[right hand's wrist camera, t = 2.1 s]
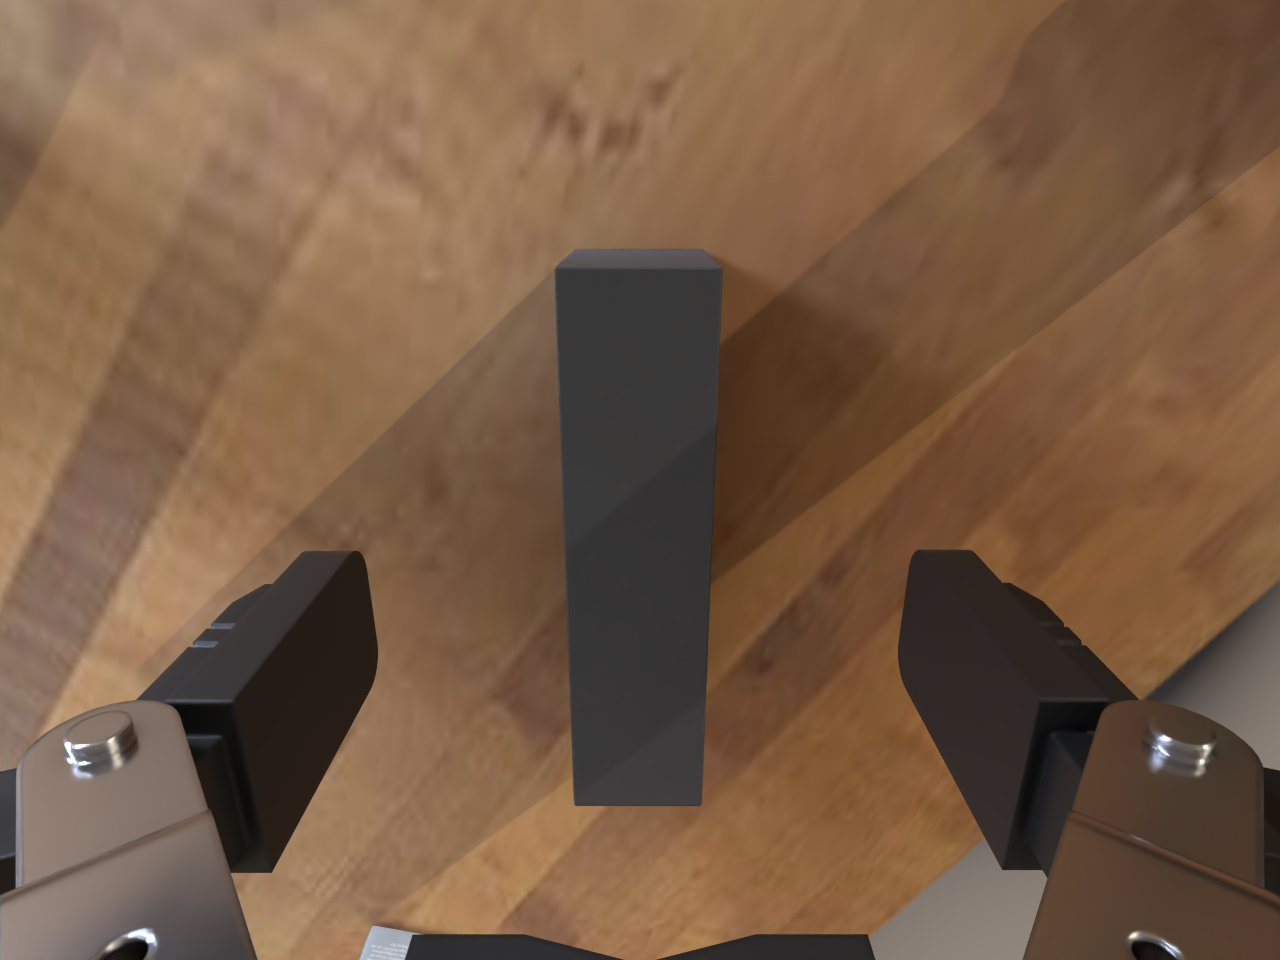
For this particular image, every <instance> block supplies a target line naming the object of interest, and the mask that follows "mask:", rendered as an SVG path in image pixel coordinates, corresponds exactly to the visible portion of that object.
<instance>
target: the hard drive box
mask: <svg viewBox="0 0 1280 960" xmlns="http://www.w3.org/2000/svg"><path fill="white" fill-rule="evenodd" d="M412 934H418V933H413V932H407V931H402V930H396V929H391V928H385V927H380V926H373V927H372V928H371V931H370V933H369V936H368V938H367V941H366V943H365V946H364V949H363V951H362V954H361V957H360V959H359V960H405V957H406V954H407V951H408V948H409V944H410V941H411V938H412Z"/></svg>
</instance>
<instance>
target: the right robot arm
mask: <svg viewBox="0 0 1280 960" xmlns="http://www.w3.org/2000/svg"><path fill="white" fill-rule="evenodd" d="M898 660H899V668H900V673H901V677H902V681H903V684H904V686H905V688H906V690H907V692H908V694H909V696H910V698H911V700H912V701H913V703H914V705H915V707H916V709H917V711H918V713H919V715H920V716H921V718H922V720H923V722H924V724H925V726H926V728H927V730H928V731H929V733H930V735H931V737H932V739H933V741H934V743H935V745H936V746H937V748H938V750H939V752H940V754H941V756H942V758H943V760H944V761H945V763H946V765H947V767H948V769H949V771H950V773H951V775H952V776H953V778H954V780H955V782H956V784H957V786H958V788H959V790H960V791H961V793H962V795H963V797H964V799H965V801H966V803H967V805H968V806H969V808H970V810H971V812H972V814H973V816H974V818H975V820H976V821H977V823H978V825H979V827H980V829H981V831H982V833H983V835H984V836H985V838H986V840H987V842H988V844H989V846H990V848H991V850H992V851H993V853H994V855H995V857H996V859H997V861H998V863H999V865H1000V866H1001V868H1002V870H1043V871H1044V873H1045V875H1046V876H1047V878H1048V879H1047V882H1046V886H1045V889H1044V892H1043V895H1042V899H1041V902H1040V905H1039V908H1038V912H1037V915H1036V918H1035V921H1034V924H1033V928H1032V931H1031V934H1030V938H1029V941H1028V944H1027V947H1026V950H1025V954H1024V957H1023V960H1280V771H1279V770H1274V769H1269V768H1264V767H1263V766H1262V763H1261V761H1260V759H1259V757H1258V756H1257V754H1256V753H1255V752H1254V750H1253V749H1252V748H1251V747H1250V746H1249V745H1248V744H1247V743H1246V742H1245V741H1244V740H1242V739H1241V738H1240V737H1239V736H1237V735H1236V734H1235V733H1233V732H1232V731H1230V730H1229V729H1227V728H1225V727H1224V726H1222V725H1220V724H1219V723H1217V722H1215V721H1213V720H1211V719H1209V718H1207V717H1205V716H1202V715H1200V714H1198V713H1195V712H1192V711H1190V710H1187V709H1184V708H1181V707H1177V706H1174V705H1170V704H1165V703H1161V702H1155V701H1147V700H1139V699H1138V698H1137V697H1136V696H1135V695H1134V694H1133V693H1132V692H1131V691H1130V690H1129V689H1128V688H1127V687H1126V686H1125V685H1124V684H1123V683H1122V682H1121V681H1120V680H1119V679H1118V678H1117V677H1116V676H1115V675H1114V674H1113V673H1112V672H1111V671H1110V670H1109V669H1108V668H1107V667H1106V665H1105V664H1104V663H1103V662H1102V661H1101V660H1100V659H1099V658H1098V657H1097V656H1096V655H1095V654H1094V653H1093V652H1092V651H1091V650H1090V649H1089V648H1088V647H1087V646H1082V644H1081V640H1080V639H1079V638H1078V637H1077V636H1076V635H1075V634H1074V633H1073V632H1072V631H1071V630H1070V629H1069V628H1068V627H1064V623H1063V622H1062V621H1061V620H1060V619H1059V617H1058V616H1057V615H1056V614H1055V613H1054V612H1053V611H1052V610H1051V609H1050V608H1049V607H1048V606H1047V605H1046V604H1045V603H1044V602H1043V601H1041V600H1039V599H1038V598H1036V597H1034V596H1032V595H1031V594H1029V593H1027V592H1025V591H1023V590H1022V589H1020V588H1018V587H1016V586H1015V585H1013V584H1011V583H1002V582H1001V581H1000V580H999V579H998V578H997V577H996V575H995V574H994V573H993V572H992V571H991V570H990V569H989V568H988V567H987V566H986V565H985V564H984V562H983V561H982V560H981V559H980V558H979V557H978V556H977V555H976V554H975V553H974V552H973V551H971V550H917V551H916V552H915V553H914V554H913V556H912V558H911V561H910V566H909V572H908V579H907V586H906V593H905V600H904V607H903V615H902V622H901V629H900V636H899V644H898ZM377 662H378V645H377V637H376V630H375V623H374V616H373V609H372V602H371V595H370V588H369V581H368V574H367V568H366V563H365V560H364V558H363V556H362V554H361V553H360V552H358V551H305V552H303V553H302V554H300V555H299V556H298V558H297V559H296V560H295V561H294V562H293V563H292V564H291V565H290V566H289V567H288V568H287V569H286V570H285V571H284V573H283V574H282V575H281V576H280V577H279V578H278V579H277V580H276V581H275V582H274V583H273V584H265V585H263V586H261V587H259V588H258V589H256V590H254V591H252V592H251V593H249V594H247V595H245V596H243V597H242V598H240V599H238V600H236V601H234V602H233V603H232V604H231V605H230V606H229V607H228V608H227V609H226V610H225V611H224V612H223V613H222V614H221V615H220V616H219V617H218V618H217V619H216V620H215V621H214V622H213V623H212V624H211V629H206V630H205V631H204V632H203V633H202V634H201V635H200V636H199V637H198V638H197V639H196V640H195V641H194V642H193V647H188V648H187V649H186V650H185V651H184V652H183V653H182V654H181V655H180V656H179V657H178V658H177V659H176V660H175V661H174V662H173V663H172V664H171V665H170V666H169V667H168V668H167V669H166V670H165V671H164V672H163V673H162V674H161V675H160V676H159V677H158V678H157V679H156V680H155V681H154V682H153V683H152V684H151V685H150V686H149V688H148V689H147V690H146V691H145V692H144V693H143V694H142V695H141V696H140V697H139V698H138V699H137V700H133V701H125V702H119V703H114V704H110V705H106V706H103V707H99V708H96V709H93V710H90V711H88V712H85V713H82V714H80V715H78V716H75V717H73V718H71V719H69V720H67V721H65V722H63V723H61V724H60V725H58V726H56V727H55V728H53V729H51V730H50V731H48V732H47V733H45V734H44V735H43V736H41V737H40V738H39V739H38V740H36V741H35V742H34V743H33V744H32V745H31V746H30V747H29V748H28V749H27V750H26V752H25V753H24V754H23V756H22V757H21V759H20V761H19V763H18V766H17V768H15V769H11V770H6V771H1V772H0V960H257V957H256V954H255V950H254V947H253V944H252V941H251V937H250V934H249V931H248V928H247V924H246V921H245V918H244V915H243V912H242V908H241V905H240V902H239V899H238V895H237V892H236V889H235V886H234V882H233V879H232V876H231V873H272V871H273V869H274V868H275V866H276V864H277V862H278V860H279V858H280V856H281V855H282V853H283V851H284V849H285V847H286V845H287V843H288V842H289V840H290V838H291V836H292V834H293V832H294V830H295V829H296V827H297V825H298V823H299V821H300V819H301V817H302V816H303V814H304V812H305V810H306V808H307V806H308V805H309V803H310V801H311V799H312V797H313V795H314V793H315V792H316V790H317V788H318V786H319V784H320V782H321V780H322V779H323V777H324V775H325V773H326V771H327V769H328V767H329V766H330V764H331V762H332V760H333V758H334V756H335V754H336V753H337V751H338V749H339V747H340V745H341V743H342V742H343V740H344V738H345V736H346V734H347V732H348V730H349V729H350V727H351V725H352V723H353V721H354V719H355V717H356V716H357V714H358V712H359V710H360V708H361V706H362V704H363V703H364V701H365V699H366V697H367V695H368V693H369V691H370V690H371V687H372V685H373V682H374V679H375V675H376V670H377ZM405 960H623V959H619V958H615V957H611V956H607V955H603V954H599V953H595V952H591V951H587V950H583V949H579V948H575V947H572V946H568V945H564V944H560V943H556V942H552V941H548V940H544V939H540V938H536V937H532V936H528V935H524V934H412V938H411V941H410V944H409V948H408V951H407V954H406V957H405ZM657 960H875V957H874V954H873V951H872V948H871V944H870V941H869V938H868V934H756V935H752V936H748V937H744V938H740V939H736V940H732V941H728V942H724V943H720V944H716V945H712V946H708V947H705V948H701V949H697V950H693V951H689V952H685V953H681V954H677V955H673V956H669V957H665V958H661V959H657Z"/></svg>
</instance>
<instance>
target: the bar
mask: <svg viewBox="0 0 1280 960" xmlns="http://www.w3.org/2000/svg"><path fill="white" fill-rule="evenodd" d="M554 270H555V298H556V325H557V352H558V379H559V407H560V434H561V461H562V489H563V516H564V543H565V570H566V598H567V625H568V652H569V680H570V707H571V734H572V762H573V789H574V805H575V806H701V804H702V782H703V757H704V731H705V706H706V681H707V655H708V630H709V605H710V579H711V554H712V529H713V504H714V478H715V453H716V428H717V402H718V377H719V352H720V327H721V301H722V276H723V269H722V267H721V266H720V265H718V264H717V263H716V262H715V261H714V260H713V259H712V258H711V257H710V256H709V255H708V254H707V253H706V252H705V251H704V250H702V249H575V250H574V251H573V252H571V253H570V254H569V255H568V256H567V257H566V258H565V259H564V260H563V261H562V262H561V263H560V264H558V265H557V266H556V267H555V269H554Z"/></svg>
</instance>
